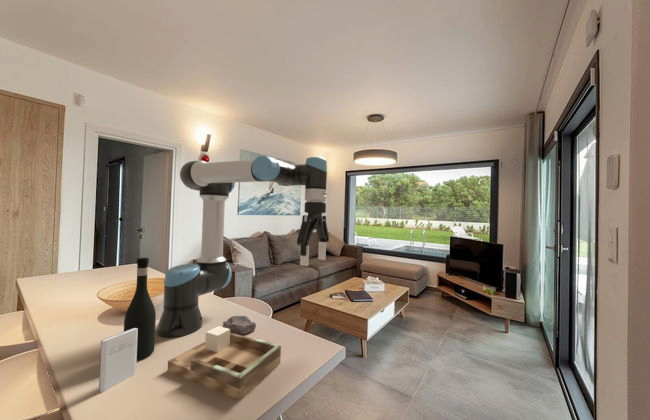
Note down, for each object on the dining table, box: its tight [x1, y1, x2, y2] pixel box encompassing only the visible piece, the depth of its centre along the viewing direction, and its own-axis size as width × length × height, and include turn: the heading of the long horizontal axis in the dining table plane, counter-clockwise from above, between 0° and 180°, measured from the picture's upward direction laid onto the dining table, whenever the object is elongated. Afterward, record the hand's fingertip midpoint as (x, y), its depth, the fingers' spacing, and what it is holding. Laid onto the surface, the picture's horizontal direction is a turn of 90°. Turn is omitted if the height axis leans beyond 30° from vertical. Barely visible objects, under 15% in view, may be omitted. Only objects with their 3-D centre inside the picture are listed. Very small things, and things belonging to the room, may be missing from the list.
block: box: [204, 325, 230, 352], centre depth 81 cm, size 5×5×5 cm
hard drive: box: [98, 328, 138, 393], centre depth 68 cm, size 2×8×12 cm, turn 159°
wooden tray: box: [167, 332, 282, 401], centre depth 75 cm, size 26×17×6 cm, turn 66°
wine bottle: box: [123, 257, 157, 361], centre depth 81 cm, size 8×8×30 cm
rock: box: [222, 315, 257, 335], centre depth 98 cm, size 8×11×5 cm
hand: (313, 262), depth 91 cm, fingers open, 13 cm apart
